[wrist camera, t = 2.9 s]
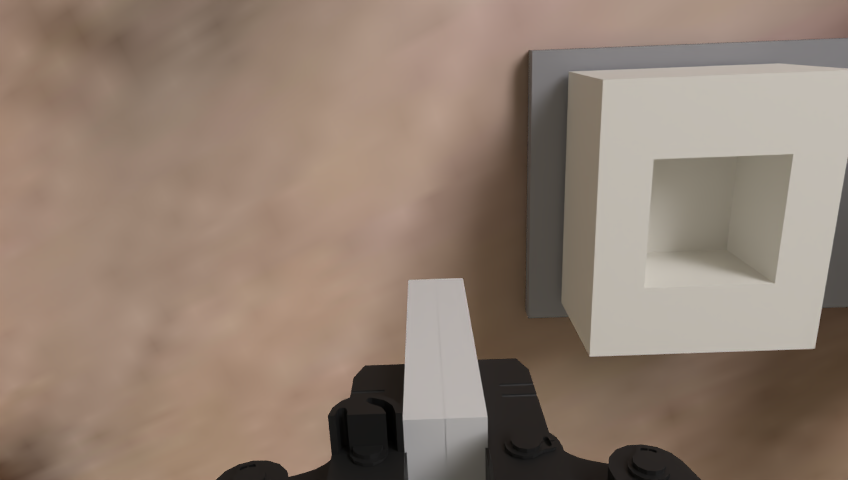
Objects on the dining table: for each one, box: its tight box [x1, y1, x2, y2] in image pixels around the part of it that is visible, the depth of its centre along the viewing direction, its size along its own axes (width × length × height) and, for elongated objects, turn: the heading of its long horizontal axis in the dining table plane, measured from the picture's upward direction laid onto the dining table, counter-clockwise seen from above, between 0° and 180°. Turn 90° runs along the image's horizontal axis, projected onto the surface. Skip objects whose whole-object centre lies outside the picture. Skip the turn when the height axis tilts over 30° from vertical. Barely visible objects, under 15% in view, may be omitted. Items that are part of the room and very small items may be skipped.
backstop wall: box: [526, 38, 848, 318], centre depth 26 cm, size 18×23×14 cm
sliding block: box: [561, 63, 848, 357], centre depth 29 cm, size 12×10×6 cm
